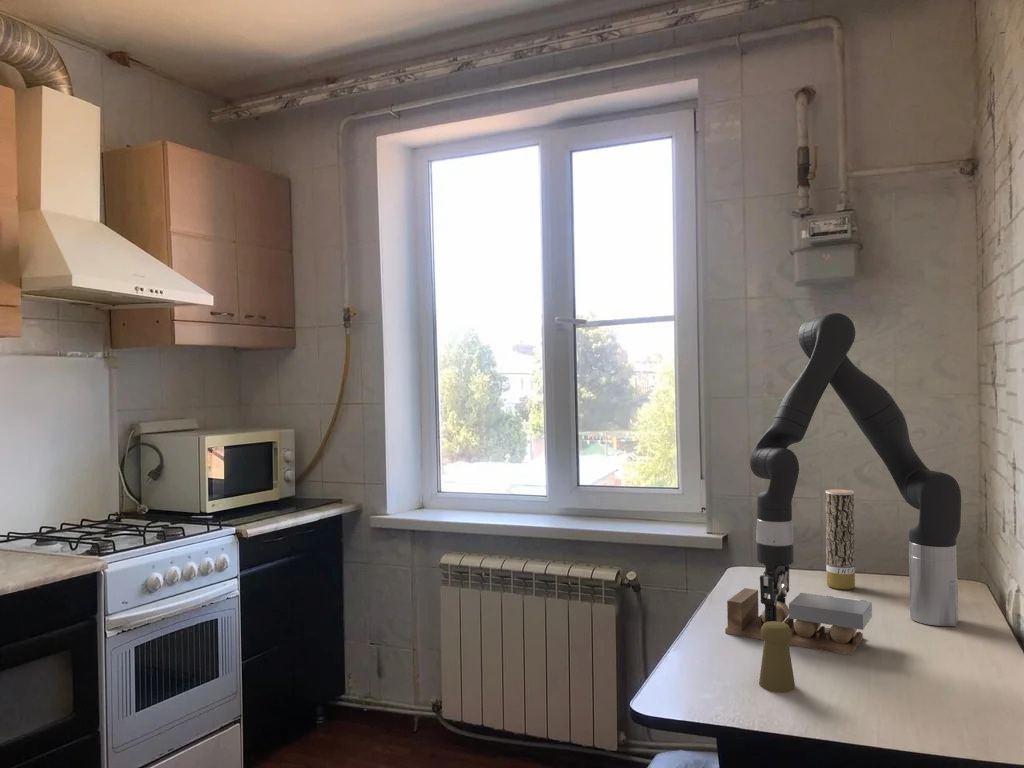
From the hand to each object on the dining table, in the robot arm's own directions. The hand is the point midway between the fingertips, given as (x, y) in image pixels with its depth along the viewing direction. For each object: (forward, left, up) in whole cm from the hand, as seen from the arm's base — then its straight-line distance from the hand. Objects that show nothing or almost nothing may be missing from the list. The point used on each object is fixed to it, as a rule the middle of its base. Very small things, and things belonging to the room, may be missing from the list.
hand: (775, 618), depth 163 cm
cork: (-8, +29, -3) cm, 30 cm away
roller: (0, 0, -1) cm, 1 cm away
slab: (-11, 0, +2) cm, 11 cm away
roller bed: (-4, 0, -3) cm, 5 cm away
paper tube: (-4, -46, -3) cm, 46 cm away
